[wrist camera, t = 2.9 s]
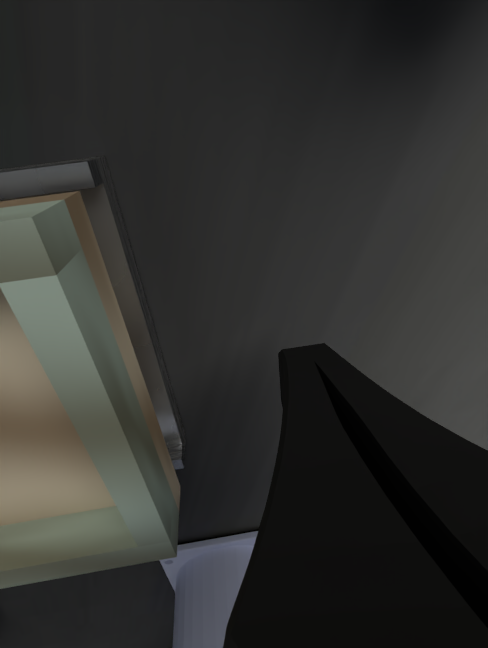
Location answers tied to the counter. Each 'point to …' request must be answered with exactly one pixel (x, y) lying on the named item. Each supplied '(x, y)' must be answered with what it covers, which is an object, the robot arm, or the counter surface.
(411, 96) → the counter surface
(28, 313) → the shallow open tray
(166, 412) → the rail
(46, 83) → the counter surface
